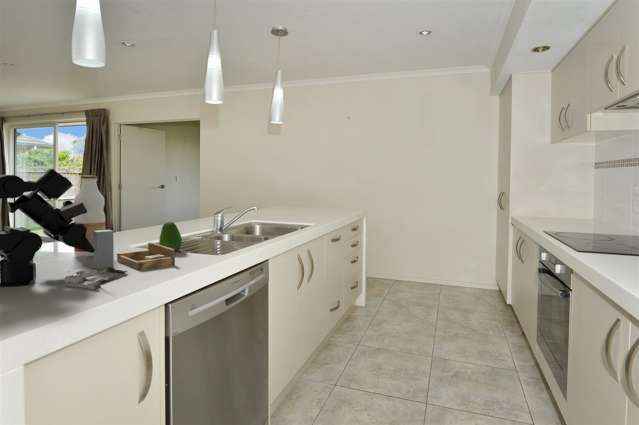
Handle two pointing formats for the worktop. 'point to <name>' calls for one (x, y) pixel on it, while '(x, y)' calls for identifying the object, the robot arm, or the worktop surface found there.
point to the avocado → (170, 236)
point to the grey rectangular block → (103, 249)
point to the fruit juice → (90, 210)
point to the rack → (138, 257)
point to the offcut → (154, 257)
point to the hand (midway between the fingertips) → (87, 249)
